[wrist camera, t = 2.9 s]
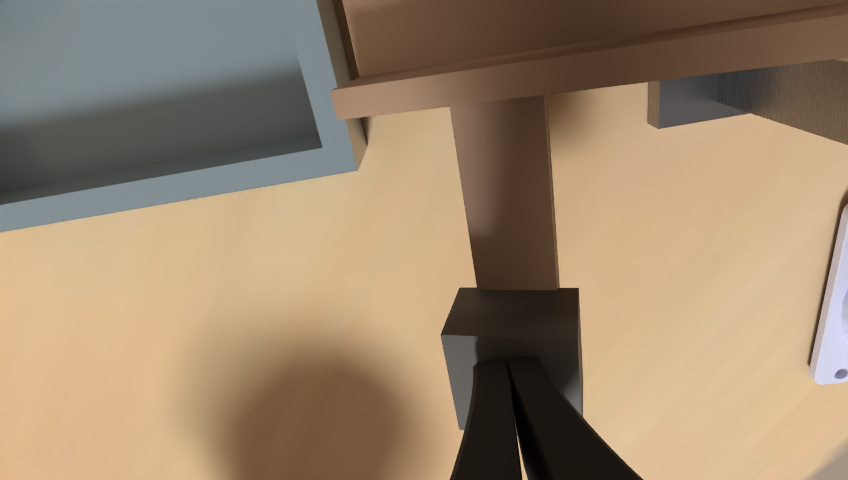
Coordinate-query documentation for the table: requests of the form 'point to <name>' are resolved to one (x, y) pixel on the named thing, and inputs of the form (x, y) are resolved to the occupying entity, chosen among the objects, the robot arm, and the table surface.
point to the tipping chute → (545, 127)
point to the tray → (165, 102)
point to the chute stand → (759, 97)
